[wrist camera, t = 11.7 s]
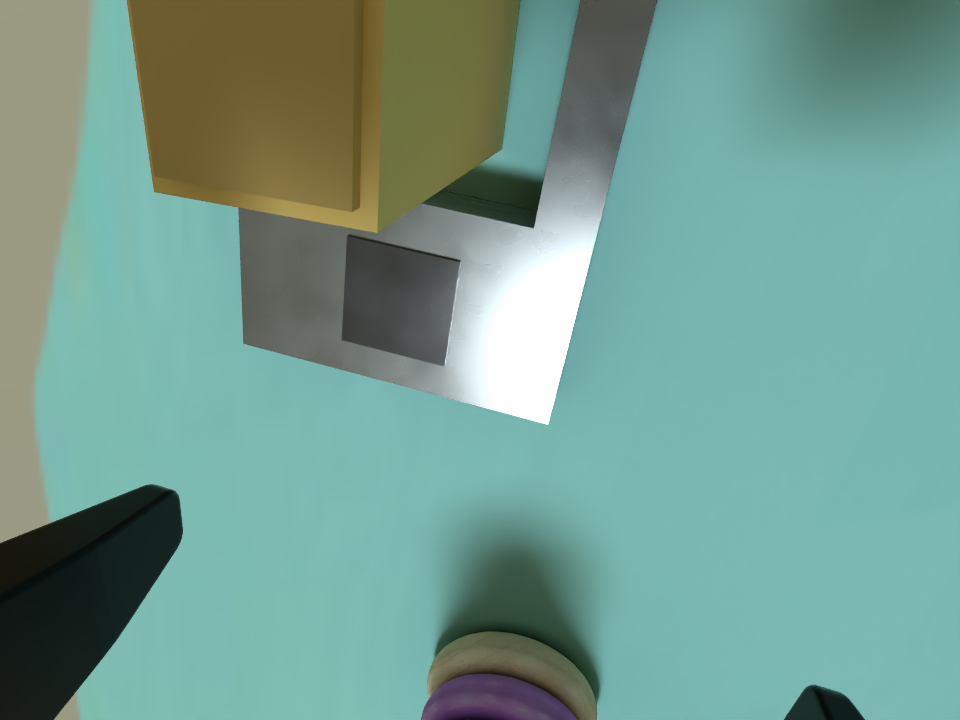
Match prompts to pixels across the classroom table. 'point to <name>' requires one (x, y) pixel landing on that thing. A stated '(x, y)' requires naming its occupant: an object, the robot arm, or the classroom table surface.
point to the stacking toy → (506, 681)
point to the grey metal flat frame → (459, 257)
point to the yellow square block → (321, 101)
